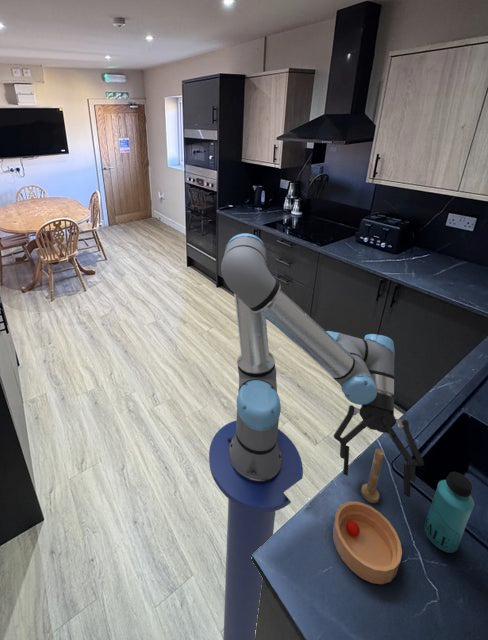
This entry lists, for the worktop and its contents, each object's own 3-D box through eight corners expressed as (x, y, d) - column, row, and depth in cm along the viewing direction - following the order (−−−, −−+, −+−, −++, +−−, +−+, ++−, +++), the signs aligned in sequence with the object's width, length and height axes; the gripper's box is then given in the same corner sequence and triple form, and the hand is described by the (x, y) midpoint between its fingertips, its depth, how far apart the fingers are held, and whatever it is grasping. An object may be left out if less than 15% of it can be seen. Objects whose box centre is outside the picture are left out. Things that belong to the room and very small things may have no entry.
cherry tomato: (342, 530, 76) (344, 522, 75) (350, 523, 77) (351, 515, 76) (353, 542, 73) (355, 534, 73) (361, 535, 75) (363, 526, 74)
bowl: (320, 535, 75) (323, 521, 74) (354, 504, 81) (357, 490, 80) (374, 601, 65) (379, 586, 63) (409, 560, 71) (414, 545, 69)
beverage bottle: (455, 536, 75) (478, 474, 69) (458, 566, 70) (483, 502, 63) (421, 518, 78) (440, 458, 72) (422, 546, 73) (442, 484, 67)
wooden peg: (357, 491, 84) (367, 448, 80) (367, 483, 86) (376, 441, 81) (372, 506, 81) (383, 462, 76) (381, 497, 83) (392, 454, 78)
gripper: (427, 407, 86) (430, 502, 78) (327, 382, 96) (320, 464, 87) (437, 406, 80) (441, 509, 72) (329, 379, 89) (322, 468, 81)
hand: (375, 485), depth 80 cm, fingers open, 13 cm apart
